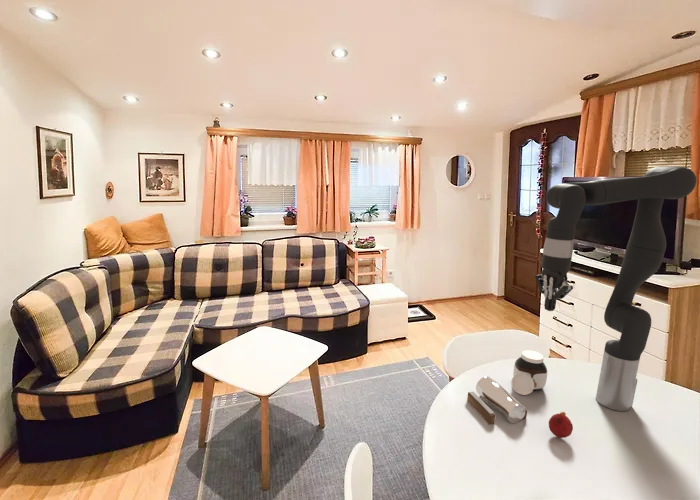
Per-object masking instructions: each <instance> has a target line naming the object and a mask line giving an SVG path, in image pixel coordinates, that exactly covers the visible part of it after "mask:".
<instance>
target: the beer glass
mask: <svg viewBox="0 0 700 500" xmlns="http://www.w3.org/2000/svg"><path fill="white" fill-rule="evenodd" d="M475 391H476V393H477V394H478V395H479V396H480V398H481V399H483V401H485V402H486V403H487V404H489V405H490V406H491V407H493V408H495V409H496V410H498V412H501V413H502V414H503V415H504V416H505V417H506V418H507V420H508V421H509V422H510V423H512V424H517V423H520V421H523V420H522V418H523V417H524V415H525V408H526V407H525V406H524V405H523V404H521V402H519V401H518V402H519V403H518V402H516V401H515V400H514V399H513V398H512V397H513V396H512V395H511V394H510V393H509V392H508V391H507V389H505V388H504V387H503V385H501V384H500V383H498V382H497V381H496V380H494V379H493V378H492V377H490V376H489V375H488V376H482V377H481V378H480V379H479V380H478V381H477V382H476V385H475ZM508 393H509V394H510V395H511V396H512V397H511V396H510V395H509V394H508Z"/></svg>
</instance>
